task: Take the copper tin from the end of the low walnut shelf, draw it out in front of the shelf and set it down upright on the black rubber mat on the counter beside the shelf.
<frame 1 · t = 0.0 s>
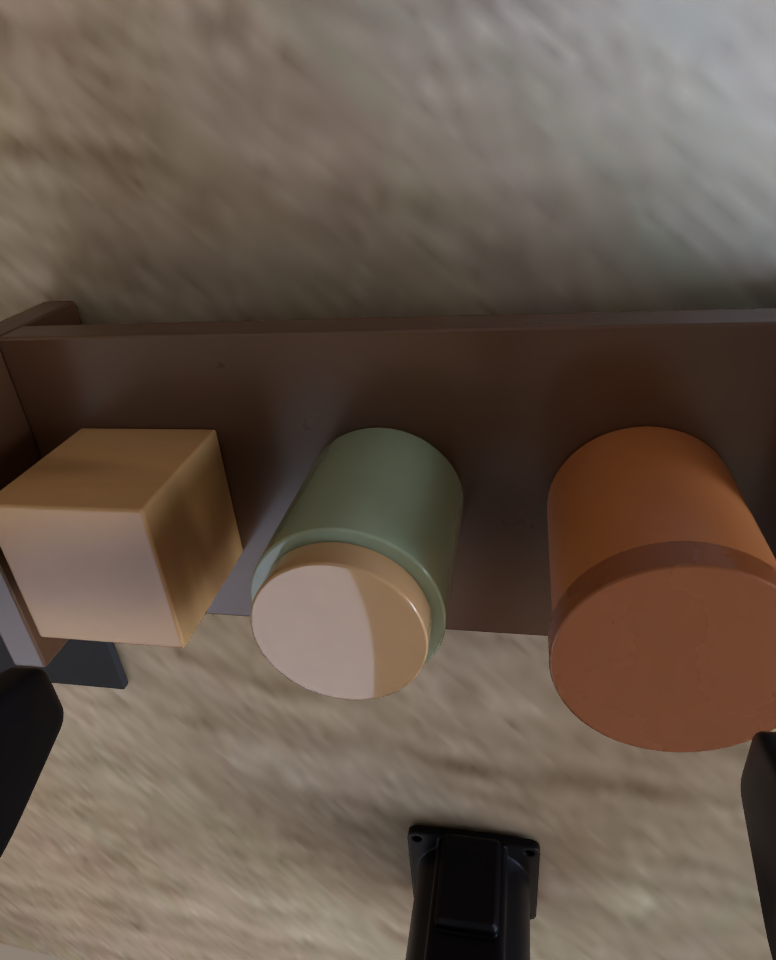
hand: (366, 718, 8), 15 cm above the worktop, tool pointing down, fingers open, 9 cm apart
black rubber mat: (14, 606, 31), on the worktop
sage jar: (385, 497, 19), point 4 cm above the worktop, touching walnut shelf
oak block: (165, 491, 21), point 4 cm above the worktop, touching walnut shelf
copper tin: (637, 504, 18), point 4 cm above the worktop, touching walnut shelf
walnut shelf: (406, 436, 23), on the worktop
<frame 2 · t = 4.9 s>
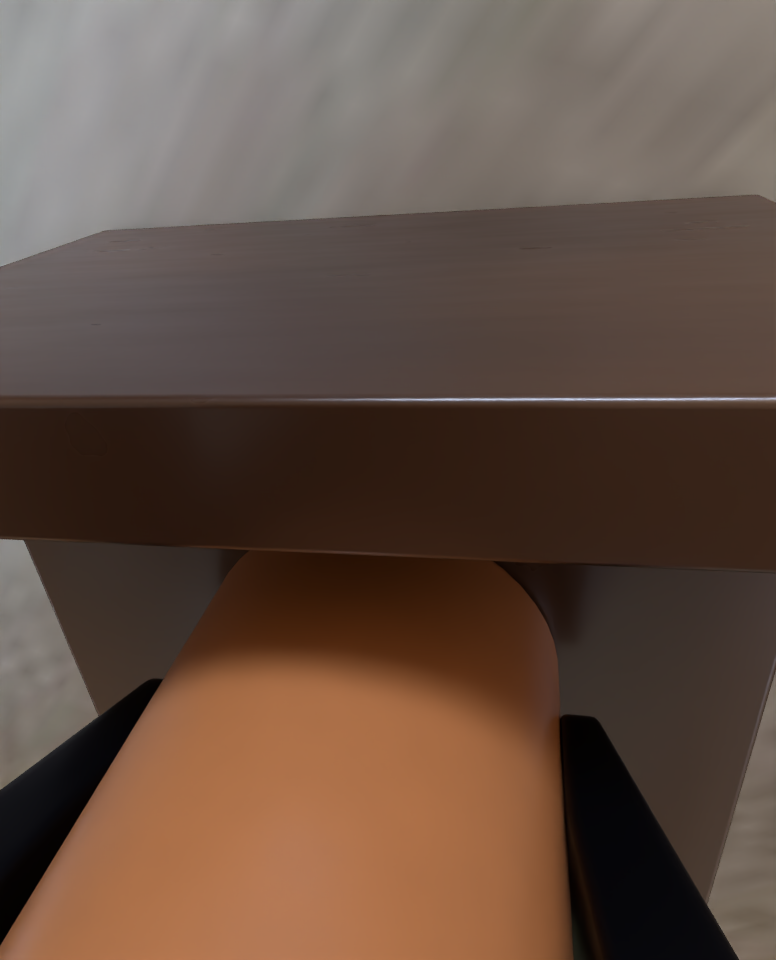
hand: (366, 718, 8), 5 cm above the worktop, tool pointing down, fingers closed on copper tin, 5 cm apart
copper tin: (379, 658, 9), point 4 cm above the worktop, touching gripper, walnut shelf
walnut shelf: (435, 750, 16), on the worktop
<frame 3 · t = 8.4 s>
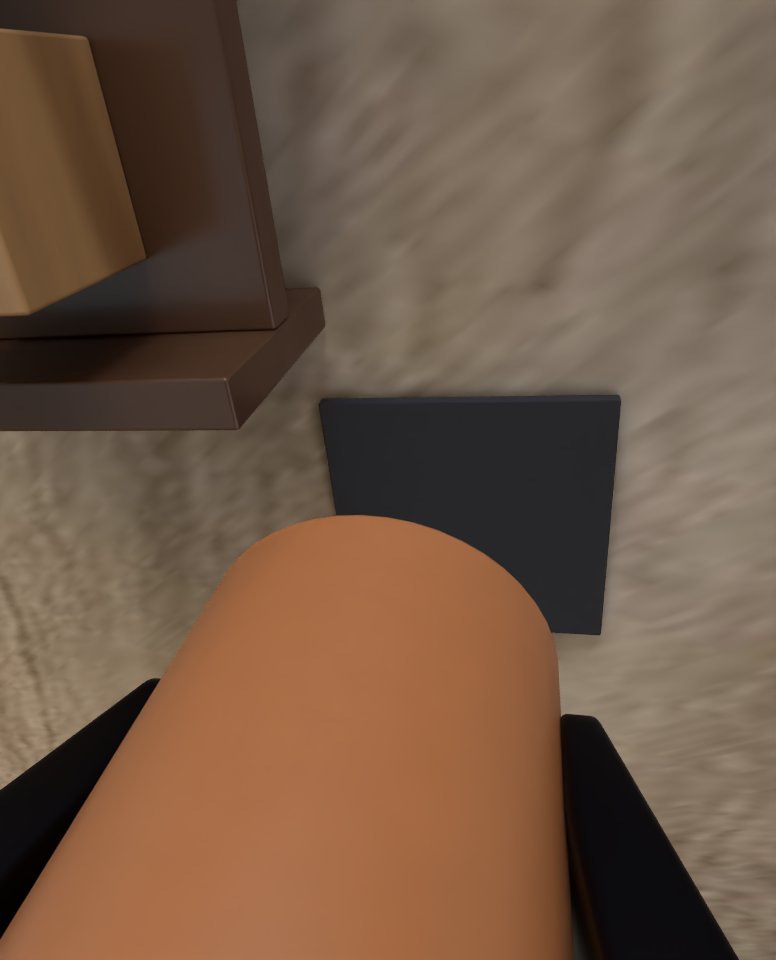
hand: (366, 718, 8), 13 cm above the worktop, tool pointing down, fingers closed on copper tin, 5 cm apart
black rubber mat: (468, 519, 22), on the worktop
oak block: (33, 164, 15), point 4 cm above the worktop, touching walnut shelf
copper tin: (379, 657, 9), point 12 cm above the worktop, touching gripper
when the fingers open (1 cm above the worktop, at t = 11.9 s): copper tin stays where it is, resting on black rubber mat.
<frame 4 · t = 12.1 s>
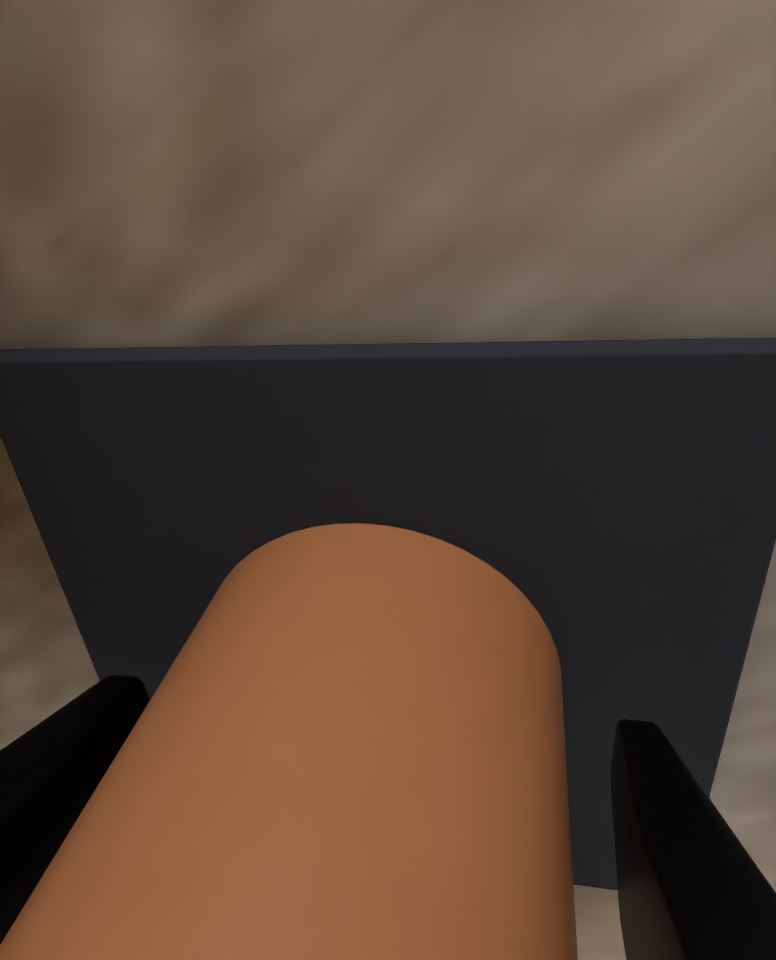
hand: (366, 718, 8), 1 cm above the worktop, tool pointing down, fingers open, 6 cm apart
black rubber mat: (384, 650, 9), on the worktop
copper tin: (379, 667, 9), resting on black rubber mat
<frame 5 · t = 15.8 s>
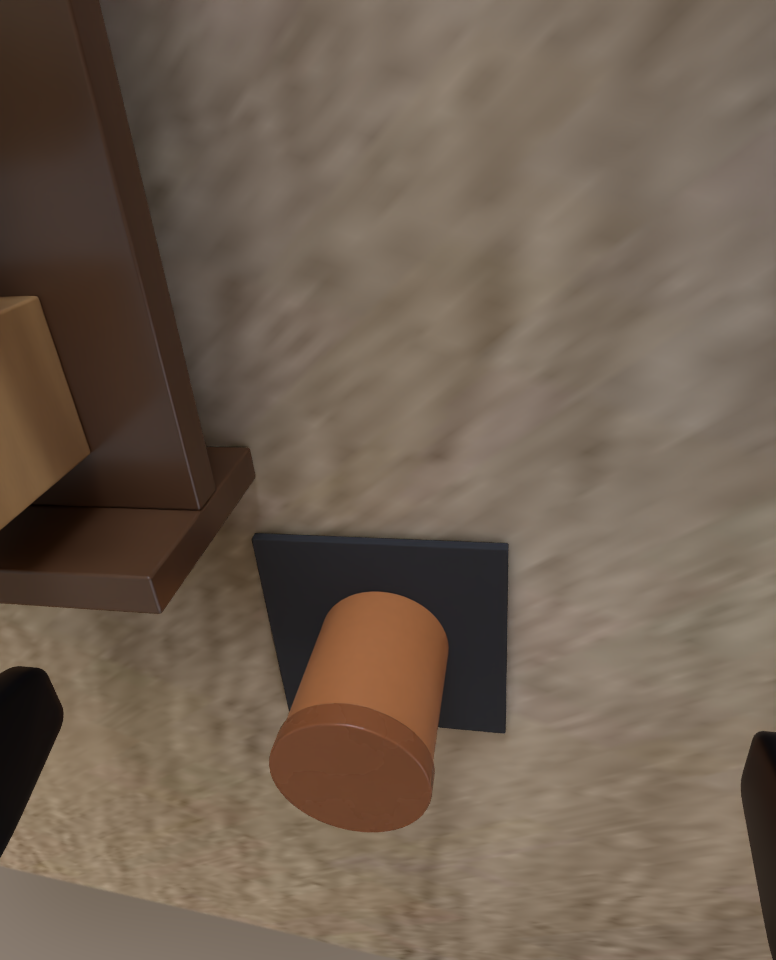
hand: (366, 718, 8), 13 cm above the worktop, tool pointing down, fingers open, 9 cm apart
black rubber mat: (387, 634, 25), on the worktop
copper tin: (385, 640, 25), resting on black rubber mat
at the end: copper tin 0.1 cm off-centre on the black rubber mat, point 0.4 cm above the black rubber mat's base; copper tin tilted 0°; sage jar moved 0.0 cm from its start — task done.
